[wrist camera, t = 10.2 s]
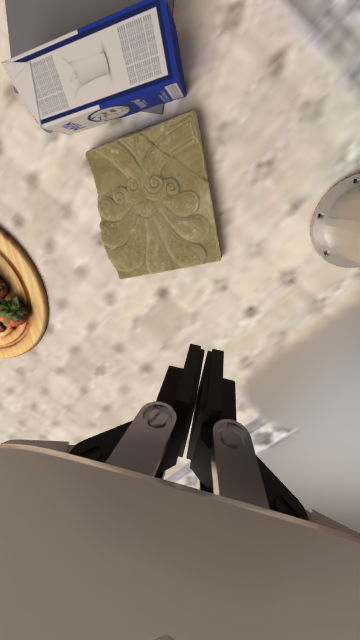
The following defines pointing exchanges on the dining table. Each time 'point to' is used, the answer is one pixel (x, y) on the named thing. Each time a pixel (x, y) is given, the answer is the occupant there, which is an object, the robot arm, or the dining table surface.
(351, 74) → the dining table surface
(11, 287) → the wooden plate with food
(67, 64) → the milk carton
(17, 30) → the mat
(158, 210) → the decorative tile
